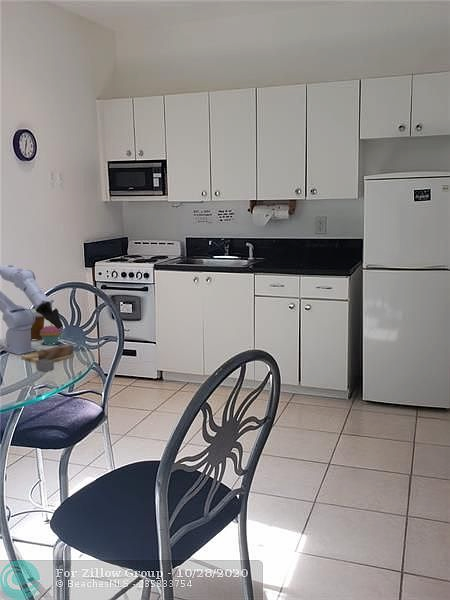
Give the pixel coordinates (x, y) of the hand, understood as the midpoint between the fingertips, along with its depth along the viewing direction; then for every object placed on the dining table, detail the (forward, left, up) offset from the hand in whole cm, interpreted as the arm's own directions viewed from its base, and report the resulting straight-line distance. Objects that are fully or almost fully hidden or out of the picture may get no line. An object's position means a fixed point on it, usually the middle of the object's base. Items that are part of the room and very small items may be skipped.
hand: (57, 324), depth 222 cm
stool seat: (-4, -1, -13) cm, 14 cm away
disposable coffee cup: (-32, +13, -13) cm, 37 cm away
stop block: (+7, -10, -13) cm, 18 cm away
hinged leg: (0, -1, -12) cm, 12 cm away
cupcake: (-21, +13, -13) cm, 28 cm away
